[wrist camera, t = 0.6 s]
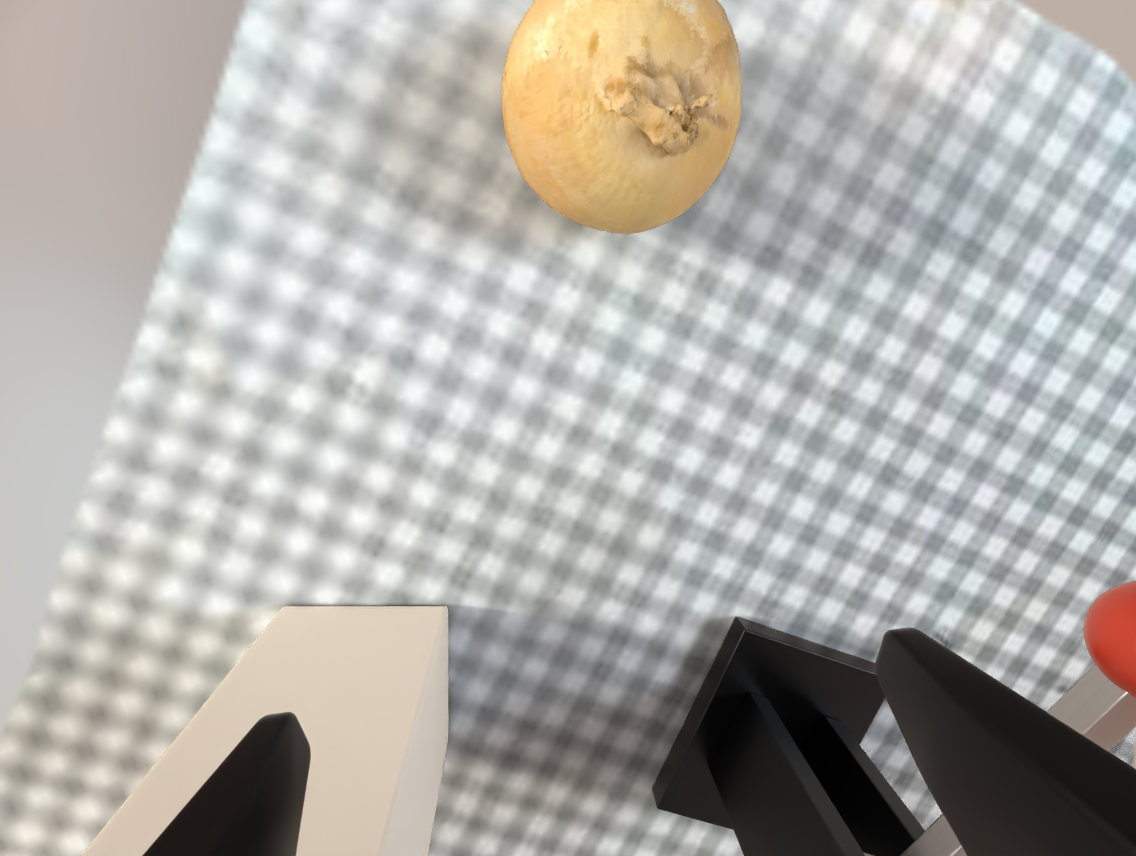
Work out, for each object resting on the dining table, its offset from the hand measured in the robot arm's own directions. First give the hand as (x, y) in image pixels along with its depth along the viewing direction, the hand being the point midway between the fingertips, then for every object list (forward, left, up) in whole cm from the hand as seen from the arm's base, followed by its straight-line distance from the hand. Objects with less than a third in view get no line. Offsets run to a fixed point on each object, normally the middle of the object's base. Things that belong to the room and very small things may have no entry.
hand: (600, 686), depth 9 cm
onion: (+12, +4, -16) cm, 20 cm away
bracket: (-7, -17, -16) cm, 24 cm away
